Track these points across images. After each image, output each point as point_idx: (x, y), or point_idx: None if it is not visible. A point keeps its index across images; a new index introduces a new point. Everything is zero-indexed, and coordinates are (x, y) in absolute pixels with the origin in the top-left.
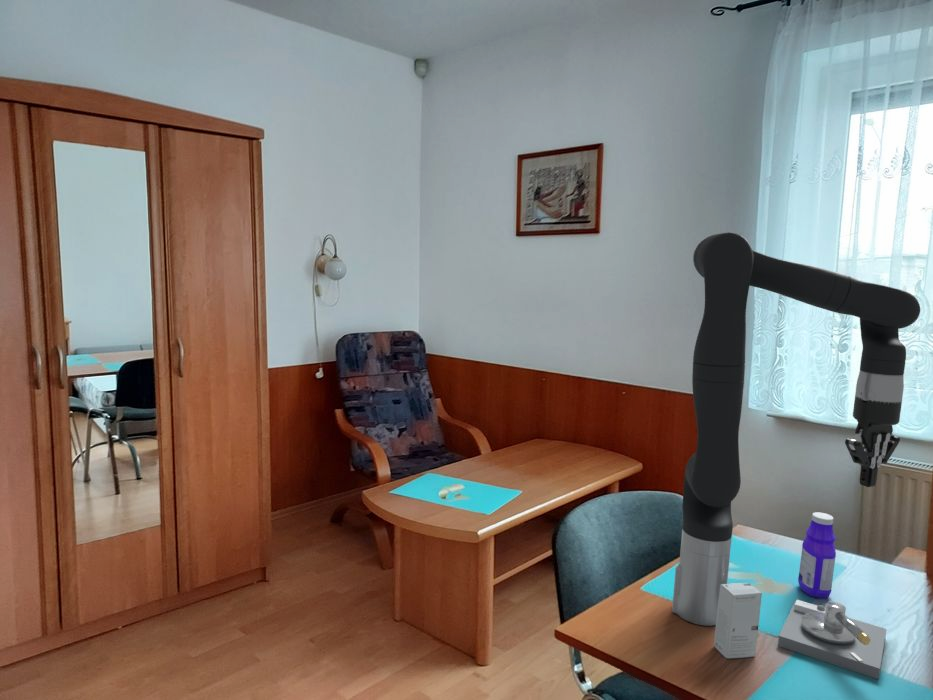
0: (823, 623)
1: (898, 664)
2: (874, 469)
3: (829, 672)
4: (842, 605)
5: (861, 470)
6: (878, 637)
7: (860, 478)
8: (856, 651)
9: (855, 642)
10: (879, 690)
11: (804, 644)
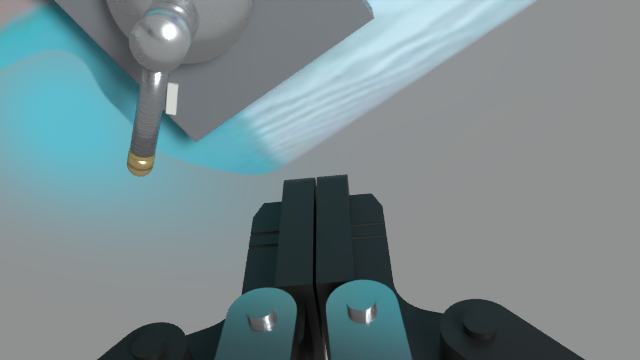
0: None
1: (298, 99)
2: (317, 357)
3: (103, 83)
4: (183, 48)
5: (243, 284)
6: (309, 46)
7: (254, 229)
8: (193, 79)
9: None
10: (172, 154)
11: (73, 18)
